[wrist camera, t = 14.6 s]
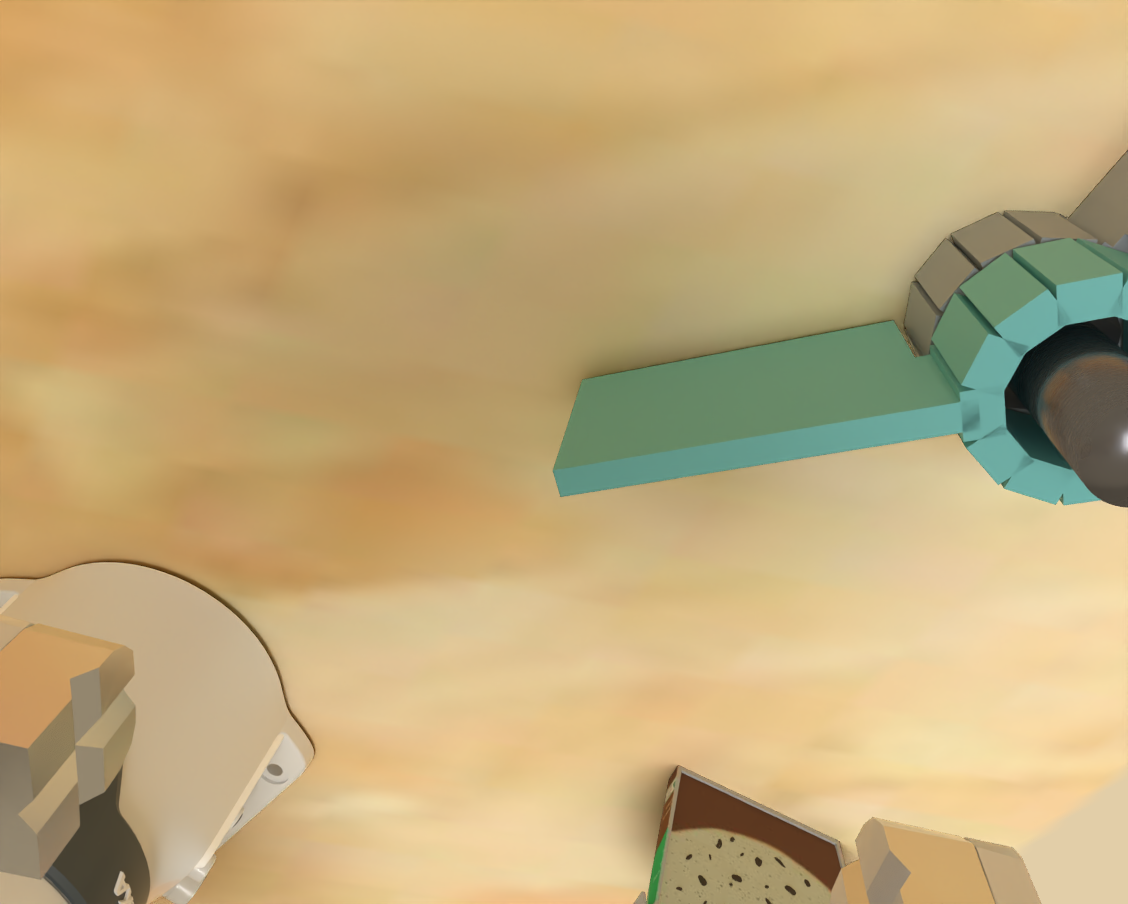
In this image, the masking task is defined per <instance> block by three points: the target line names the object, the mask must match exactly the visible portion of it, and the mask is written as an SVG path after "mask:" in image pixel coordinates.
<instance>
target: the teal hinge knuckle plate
mask: <svg viewBox="0 0 1128 904" xmlns="http://www.w3.org/2000/svg"><path fill="white" fill-rule="evenodd" d="M959 288H960V289H961V290H962V291H963V292H964V294H965V295H966V296H967V297H966V296H963V295H960V294H956V293H954V294H953V296H952V298H951V300H950V302H949V304H948V306H947V308H946V310H945V312H944V314H943V316H942V318H941V320H940V322H939V324H938V326H937V328H936V330H935V332H934V334H933V336H932V338H931V340H932V341H933V343H934V344H935V345H930V353H931V354H930V355H925V356H919V357H914V355H913V353H912V351H911V350H910V348H909V346H908V345H907V343H906V341H905V339H904V338H903V336H902V334H901V332H900V331H899V329H898V327H897V325H896V324H895V322H894V320H893V321H887V322H882V323H877V324H872V325H866V326H861V327H856V328H851V329H845V330H840V331H835V332H830V333H824V334H819V335H814V336H809V337H803V338H798V339H793V340H788V341H782V342H777V343H772V344H767V345H761V346H756V347H751V348H746V349H740V350H735V351H730V352H725V353H719V354H714V355H709V356H704V357H699V358H693V359H688V360H683V361H678V362H672V363H667V364H662V365H657V366H651V367H646V368H641V369H636V370H630V371H625V372H620V373H615V374H609V375H604V376H599V377H594V378H588V379H583V380H582V382H581V385H580V388H579V391H578V395H577V398H576V401H575V404H574V407H573V410H572V413H571V416H570V419H569V422H568V425H567V428H566V431H565V435H564V438H563V441H562V444H561V447H560V450H559V453H558V456H557V459H556V462H555V465H554V468H553V473H554V476H555V480H556V483H557V487H558V490H559V493H560V497H563V496H570V495H576V494H582V493H588V492H595V491H601V490H607V489H613V488H620V487H626V486H632V485H638V484H645V483H651V482H657V481H663V480H670V479H676V478H682V477H688V476H694V475H701V474H707V473H713V472H719V471H726V470H732V469H738V468H744V467H751V466H757V465H763V464H769V463H776V462H782V461H788V460H794V459H801V458H807V457H813V456H819V455H826V454H832V453H838V452H844V451H851V450H857V449H863V448H869V447H875V446H882V445H888V444H894V443H900V442H907V441H913V440H919V439H925V438H932V437H938V436H944V435H950V434H957V433H958V435H959V436H960V438H961V440H962V442H963V443H964V445H965V447H966V448H967V450H968V451H969V452H970V453H971V454H972V455H973V456H974V458H975V459H976V460H977V461H978V462H979V463H980V464H981V466H982V467H983V468H984V469H985V470H986V471H987V473H988V474H989V475H990V476H991V477H992V478H993V479H994V481H995V482H996V483H997V484H998V485H999V484H1002V486H1003V487H1004V489H1007V490H1010V491H1013V492H1017V493H1020V494H1023V495H1026V496H1029V497H1033V498H1036V499H1039V500H1042V501H1045V502H1049V503H1052V504H1055V505H1056V504H1057V502H1058V500H1059V499H1060V501H1061V502H1062V504H1063V505H1069V504H1077V503H1084V502H1091V501H1098V500H1100V499H1099V498H1097V497H1096V496H1095V495H1093V494H1092V493H1091V492H1090V491H1089V490H1088V489H1087V487H1086V486H1085V485H1084V483H1083V482H1082V481H1081V480H1080V478H1079V477H1078V476H1077V474H1076V473H1075V472H1074V470H1073V469H1072V468H1071V466H1070V465H1069V464H1068V463H1067V461H1066V460H1065V459H1064V457H1063V456H1062V455H1061V453H1060V452H1059V451H1058V450H1057V448H1056V447H1055V446H1054V444H1053V443H1052V442H1051V440H1050V439H1049V438H1048V436H1047V435H1046V434H1045V433H1044V431H1043V430H1042V429H1041V427H1040V426H1039V425H1038V423H1037V422H1036V421H1035V420H1034V418H1033V417H1032V416H1031V415H1027V414H1023V413H1020V412H1017V411H1014V410H1011V409H1007V408H1005V398H1004V390H1005V389H1006V387H1007V385H1008V383H1009V381H1010V380H1011V378H1012V376H1013V374H1014V372H1015V371H1016V369H1017V367H1018V365H1019V364H1020V362H1021V360H1022V358H1023V356H1024V355H1025V353H1026V352H1028V351H1029V350H1030V349H1032V348H1033V347H1035V346H1036V345H1038V344H1039V343H1041V342H1042V341H1043V340H1045V339H1046V338H1048V337H1049V336H1051V335H1052V334H1054V333H1055V332H1057V331H1058V330H1059V329H1061V328H1062V327H1064V326H1065V325H1069V324H1075V323H1080V322H1086V321H1091V320H1097V319H1102V318H1108V317H1113V316H1115V317H1119V318H1122V319H1123V350H1124V351H1125V352H1126V353H1128V253H1125V252H1122V251H1118V250H1115V249H1112V248H1109V247H1105V246H1102V245H1099V244H1096V243H1093V242H1089V241H1086V240H1083V239H1080V238H1078V239H1077V240H1076V241H1074V240H1073V239H1071V238H1066V239H1061V240H1056V241H1051V242H1046V243H1041V244H1036V245H1031V246H1026V247H1021V248H1016V249H1013V259H1012V258H1011V257H1010V256H1009V255H1008V254H1006V253H1004V254H1003V255H1001V256H1000V257H999V258H997V259H996V260H995V261H993V262H992V263H991V264H989V265H988V266H987V267H985V268H984V269H983V270H981V271H980V272H979V273H977V274H976V275H975V276H973V277H972V278H971V279H969V280H968V281H966V282H965V283H964V284H962V285H961V286H960V287H959Z"/></svg>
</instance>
